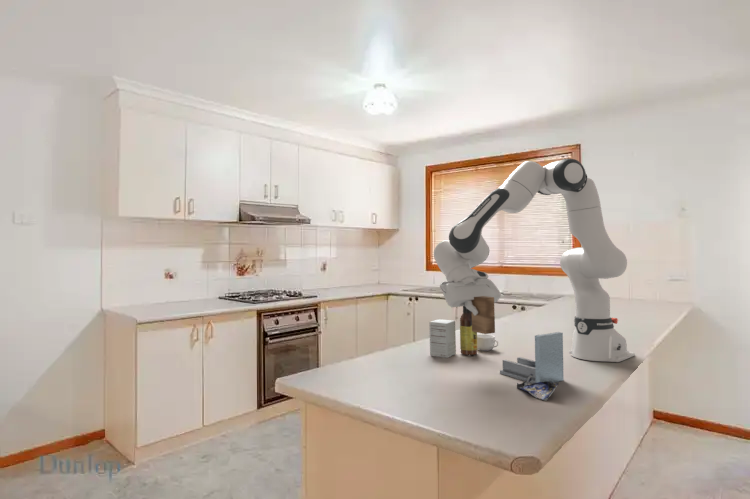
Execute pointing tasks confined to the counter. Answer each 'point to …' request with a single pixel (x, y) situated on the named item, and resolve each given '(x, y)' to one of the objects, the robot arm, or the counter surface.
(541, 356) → the track
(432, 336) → the supplement box
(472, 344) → the sauce bottle
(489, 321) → the tan wooden block
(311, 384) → the counter surface
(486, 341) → the teacup
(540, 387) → the snack package
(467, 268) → the robot arm
